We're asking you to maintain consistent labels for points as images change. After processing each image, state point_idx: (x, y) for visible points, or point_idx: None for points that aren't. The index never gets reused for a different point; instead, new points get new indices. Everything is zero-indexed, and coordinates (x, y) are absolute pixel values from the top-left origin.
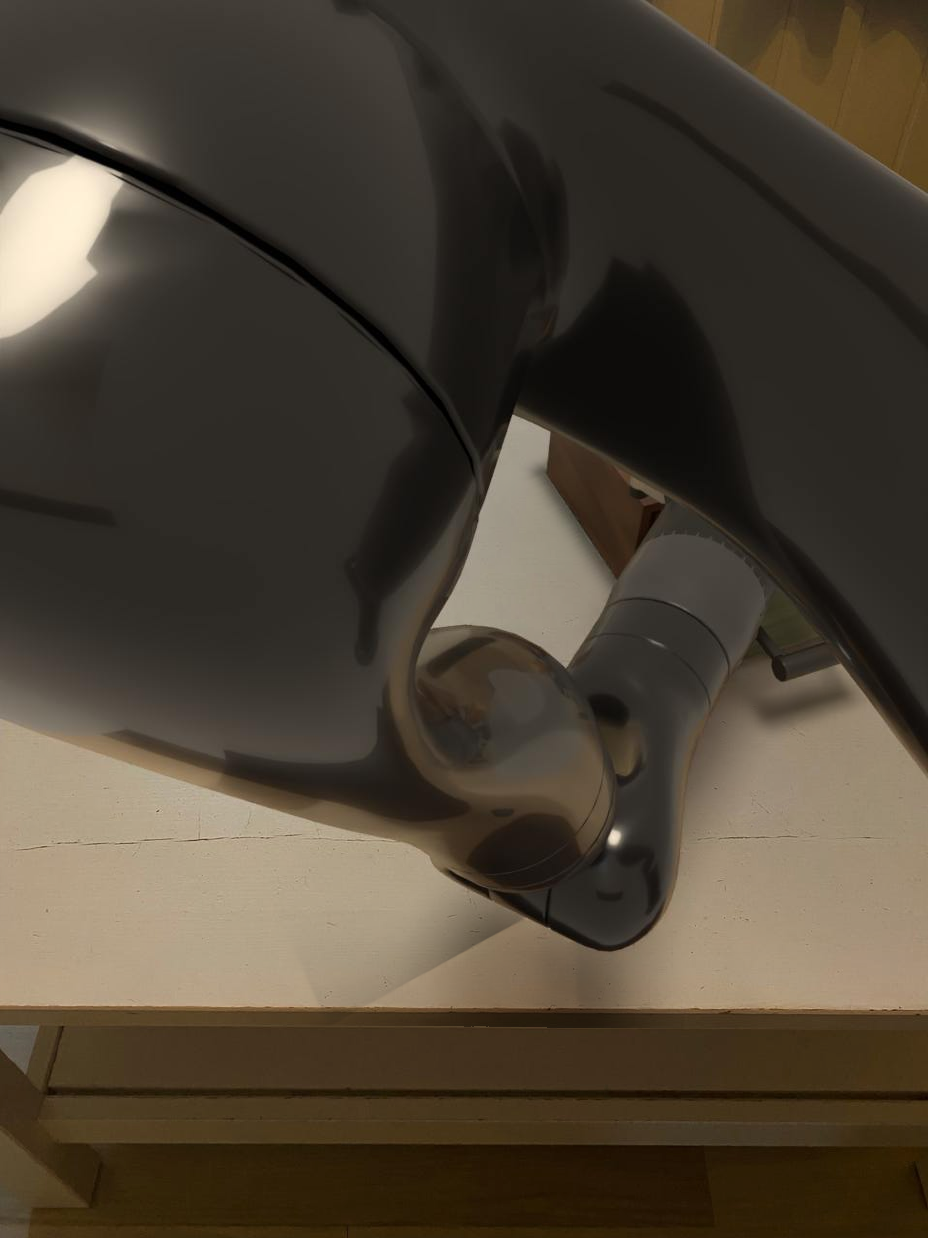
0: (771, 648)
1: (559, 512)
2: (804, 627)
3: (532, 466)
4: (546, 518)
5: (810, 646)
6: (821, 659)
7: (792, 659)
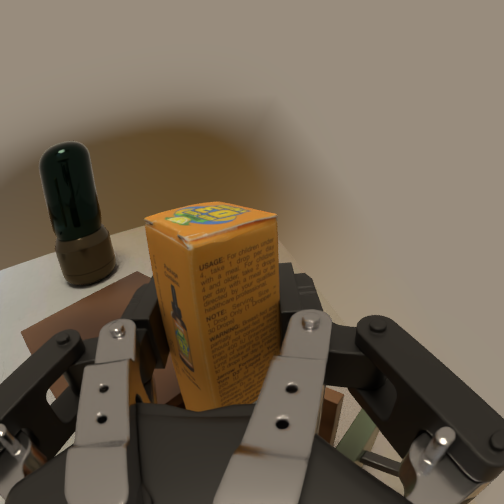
0: None
1: (74, 438)
2: None
3: (52, 399)
4: (65, 447)
5: None
6: None
7: None
